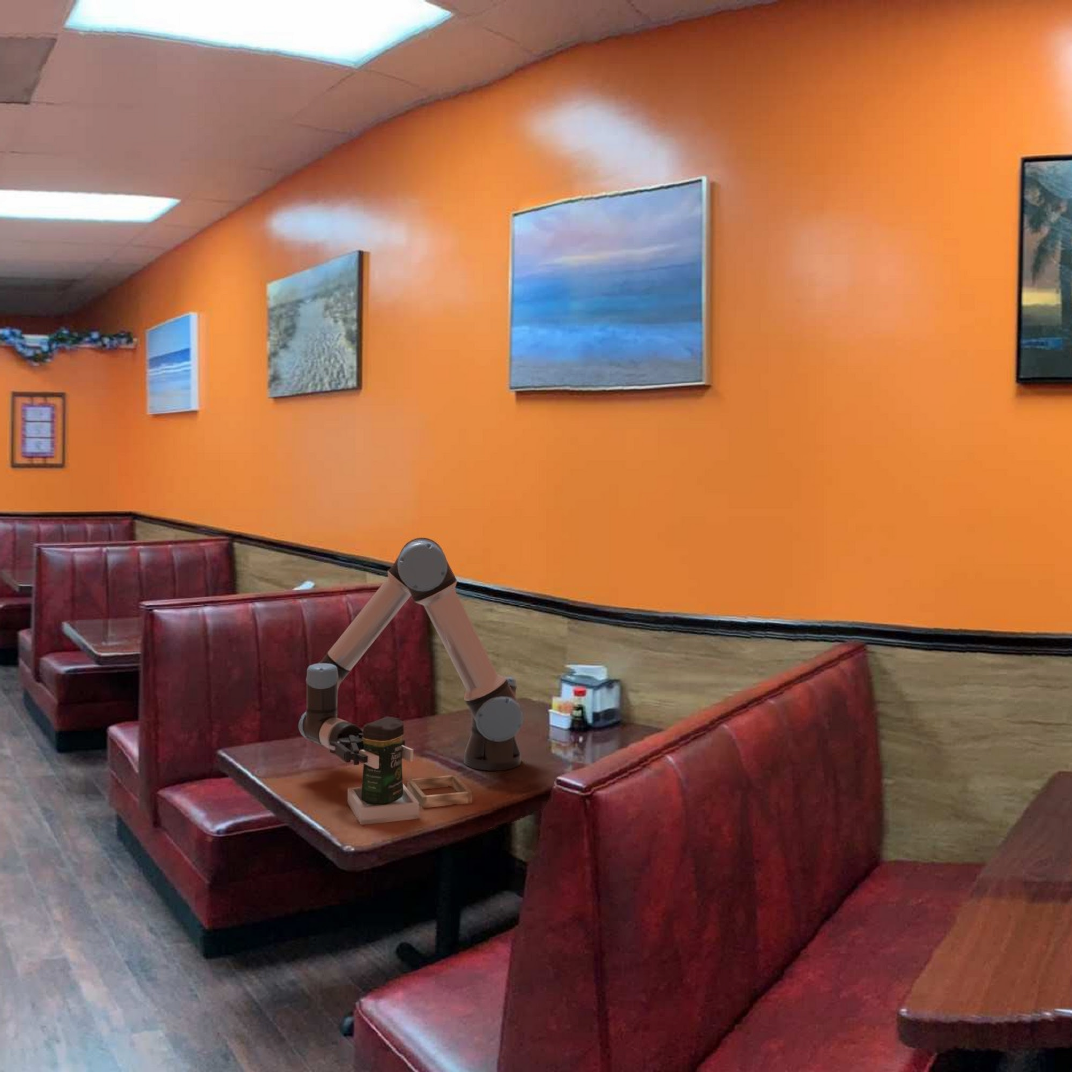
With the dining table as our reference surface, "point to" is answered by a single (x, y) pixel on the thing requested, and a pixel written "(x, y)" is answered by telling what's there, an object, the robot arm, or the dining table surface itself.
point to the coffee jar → (383, 761)
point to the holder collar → (440, 799)
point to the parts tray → (383, 808)
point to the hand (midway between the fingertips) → (394, 759)
